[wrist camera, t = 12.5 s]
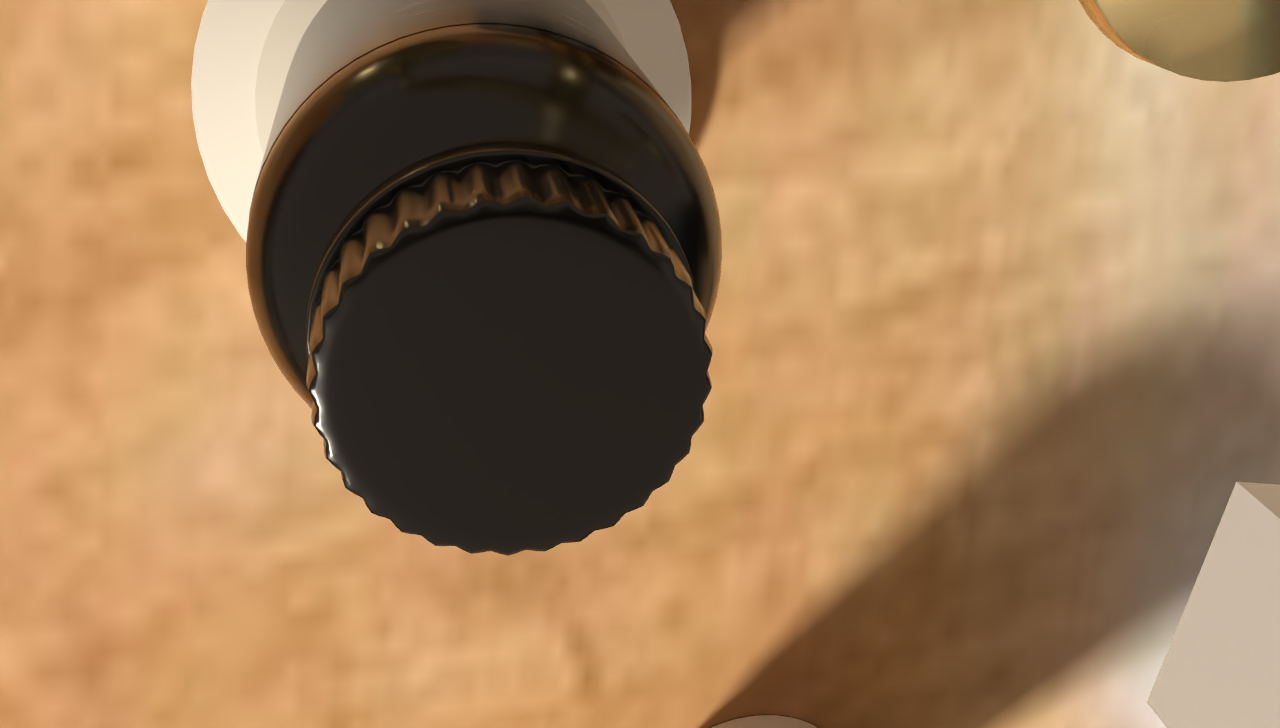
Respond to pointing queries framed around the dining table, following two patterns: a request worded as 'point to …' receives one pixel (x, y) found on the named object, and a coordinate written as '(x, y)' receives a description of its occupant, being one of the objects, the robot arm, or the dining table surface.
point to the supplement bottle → (485, 266)
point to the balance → (1195, 35)
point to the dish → (265, 46)
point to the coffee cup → (765, 722)
